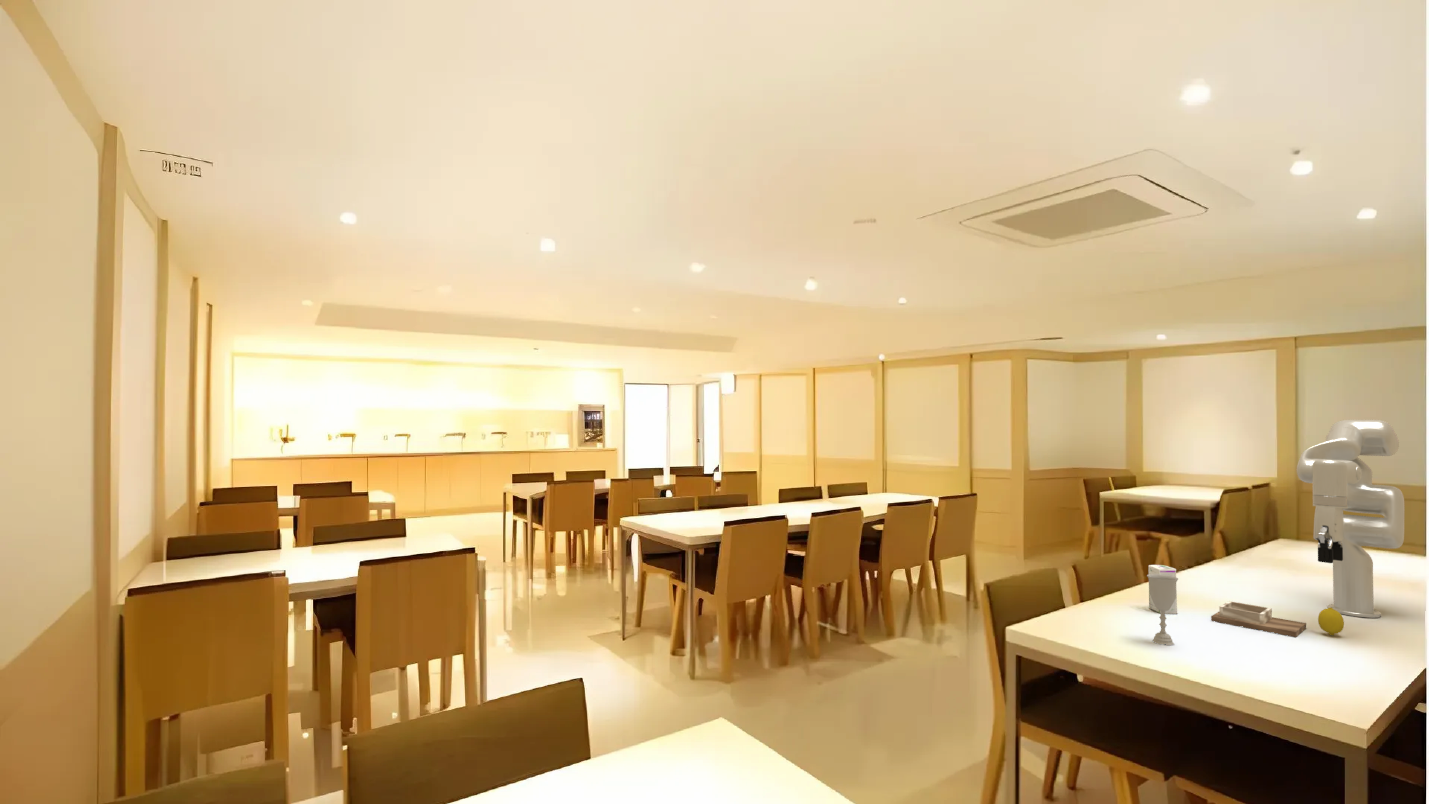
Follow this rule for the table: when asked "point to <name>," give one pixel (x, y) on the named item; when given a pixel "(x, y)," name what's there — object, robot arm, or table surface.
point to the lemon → (1331, 621)
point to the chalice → (1162, 601)
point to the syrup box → (1163, 571)
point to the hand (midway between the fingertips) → (1330, 561)
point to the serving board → (1256, 619)
